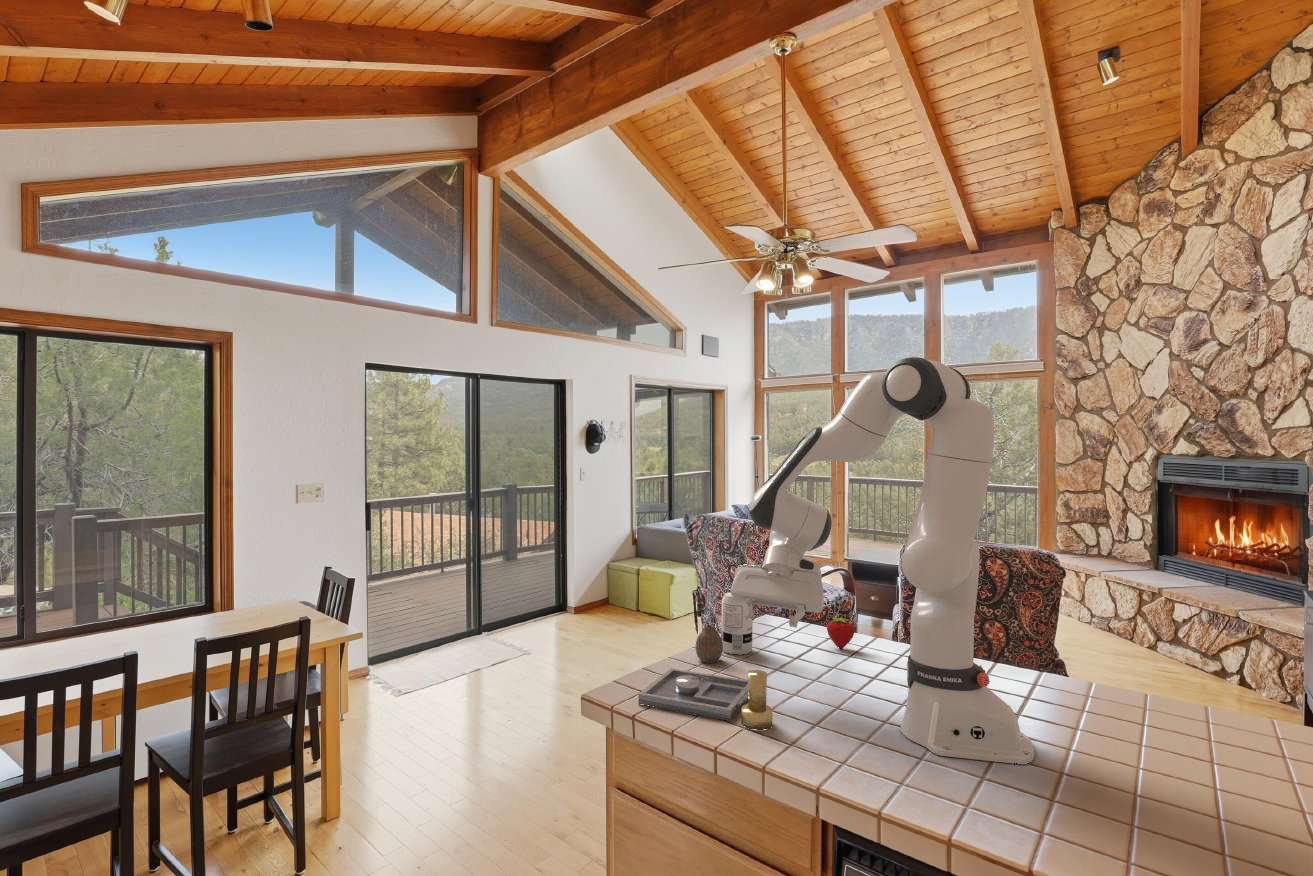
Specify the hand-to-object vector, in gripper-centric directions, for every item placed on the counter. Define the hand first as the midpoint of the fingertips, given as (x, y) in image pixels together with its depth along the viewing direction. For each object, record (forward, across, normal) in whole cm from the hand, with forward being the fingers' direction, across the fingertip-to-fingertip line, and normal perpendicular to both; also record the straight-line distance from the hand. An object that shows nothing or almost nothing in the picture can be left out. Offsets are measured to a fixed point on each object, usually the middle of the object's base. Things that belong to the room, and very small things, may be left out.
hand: (770, 622), depth 141 cm
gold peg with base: (+21, +1, +2) cm, 21 cm away
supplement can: (-9, -16, +35) cm, 39 cm away
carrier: (+15, -14, +9) cm, 23 cm away
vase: (-2, -20, +27) cm, 34 cm away
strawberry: (-19, +9, +44) cm, 49 cm away
